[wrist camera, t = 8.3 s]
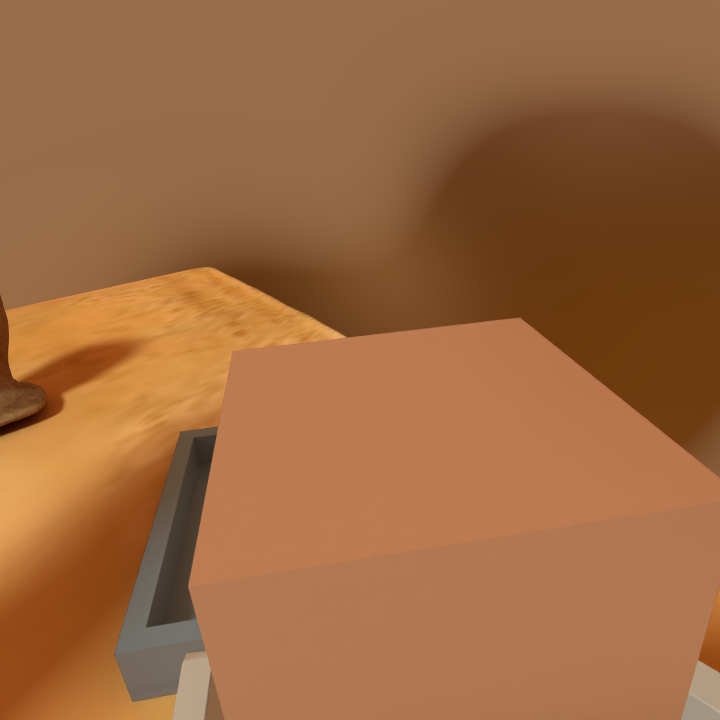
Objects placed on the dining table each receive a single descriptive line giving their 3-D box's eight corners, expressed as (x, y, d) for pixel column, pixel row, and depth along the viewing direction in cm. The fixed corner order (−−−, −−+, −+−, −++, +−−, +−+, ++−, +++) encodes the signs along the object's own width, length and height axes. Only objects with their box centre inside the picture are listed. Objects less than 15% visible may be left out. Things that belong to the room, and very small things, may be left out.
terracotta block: (325, 1089, 9) (188, 586, 4) (309, 774, 14) (232, 351, 9) (595, 1019, 10) (744, 497, 5) (495, 737, 14) (520, 317, 9)
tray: (132, 701, 27) (114, 654, 25) (189, 467, 45) (180, 431, 43) (515, 630, 29) (519, 582, 27) (422, 434, 47) (421, 399, 45)
